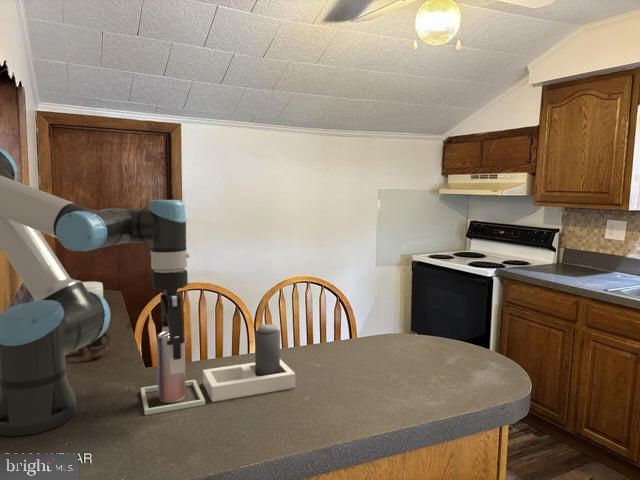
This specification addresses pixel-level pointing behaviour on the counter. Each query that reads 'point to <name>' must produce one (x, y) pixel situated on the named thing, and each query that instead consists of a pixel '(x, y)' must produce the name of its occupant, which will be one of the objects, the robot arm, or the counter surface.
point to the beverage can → (169, 384)
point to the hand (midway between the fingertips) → (172, 362)
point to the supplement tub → (94, 287)
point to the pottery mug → (96, 347)
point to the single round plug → (267, 350)
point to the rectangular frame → (172, 406)
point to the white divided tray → (245, 381)
